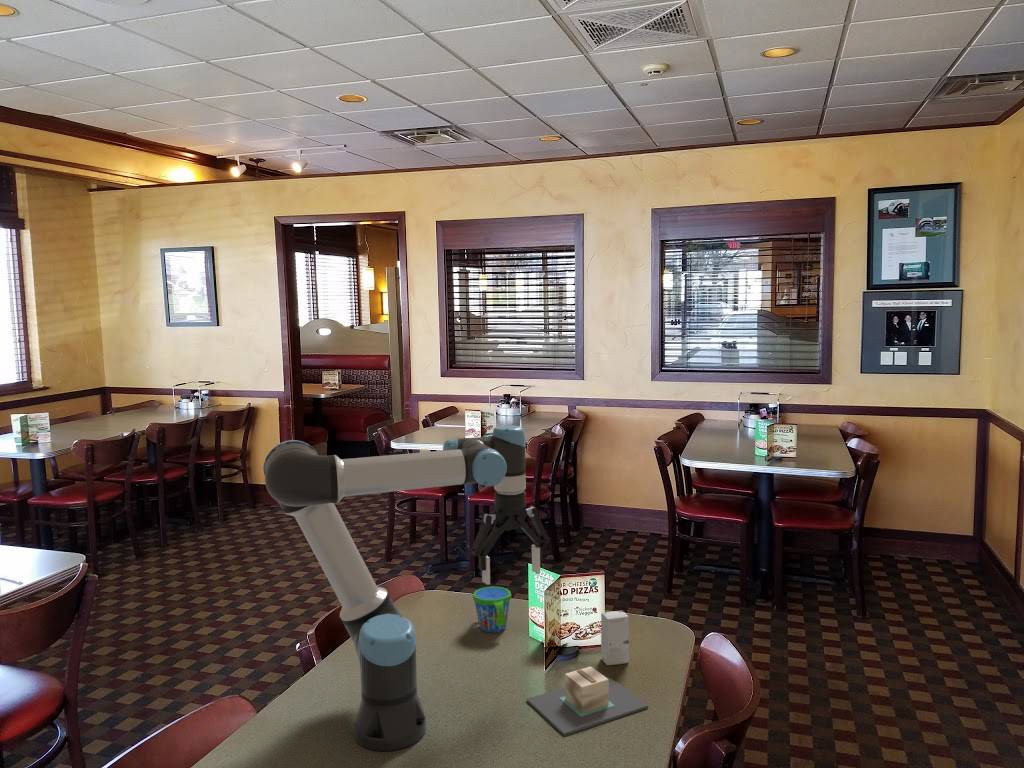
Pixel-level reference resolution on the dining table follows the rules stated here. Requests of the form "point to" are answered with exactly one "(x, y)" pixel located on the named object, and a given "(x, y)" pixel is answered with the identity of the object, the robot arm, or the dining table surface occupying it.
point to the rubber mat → (573, 720)
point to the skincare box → (615, 637)
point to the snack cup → (492, 608)
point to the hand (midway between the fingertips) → (511, 577)
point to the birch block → (586, 689)
